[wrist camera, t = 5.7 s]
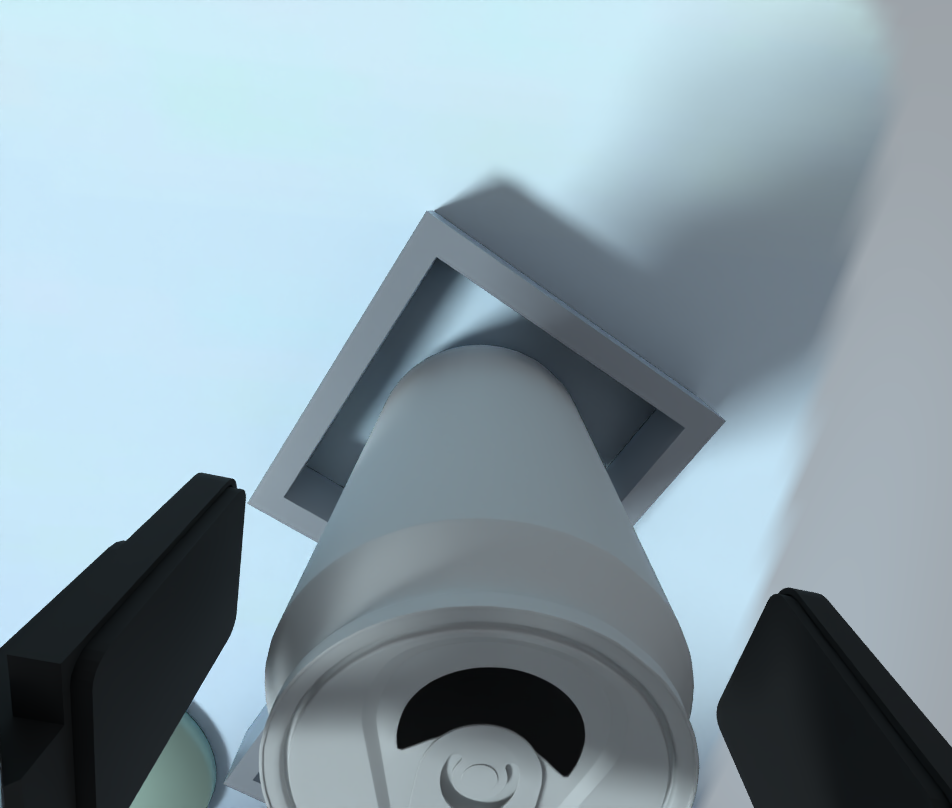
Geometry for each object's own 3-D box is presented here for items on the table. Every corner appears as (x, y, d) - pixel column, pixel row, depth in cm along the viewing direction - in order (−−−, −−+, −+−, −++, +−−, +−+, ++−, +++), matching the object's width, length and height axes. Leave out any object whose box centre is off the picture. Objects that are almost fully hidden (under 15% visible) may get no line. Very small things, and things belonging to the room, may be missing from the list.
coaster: (158, 872, 26) (150, 887, 25) (-62, 782, 24) (-75, 796, 23) (257, 736, 23) (252, 750, 22) (17, 622, 21) (5, 634, 20)
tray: (515, 609, 21) (519, 654, 19) (273, 470, 19) (247, 503, 17) (697, 396, 18) (725, 421, 16) (433, 210, 16) (426, 210, 14)
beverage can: (600, 362, 18) (819, 639, 6) (548, 535, 20) (641, 980, 8) (400, 318, 17) (245, 530, 6) (368, 500, 19) (208, 916, 8)
